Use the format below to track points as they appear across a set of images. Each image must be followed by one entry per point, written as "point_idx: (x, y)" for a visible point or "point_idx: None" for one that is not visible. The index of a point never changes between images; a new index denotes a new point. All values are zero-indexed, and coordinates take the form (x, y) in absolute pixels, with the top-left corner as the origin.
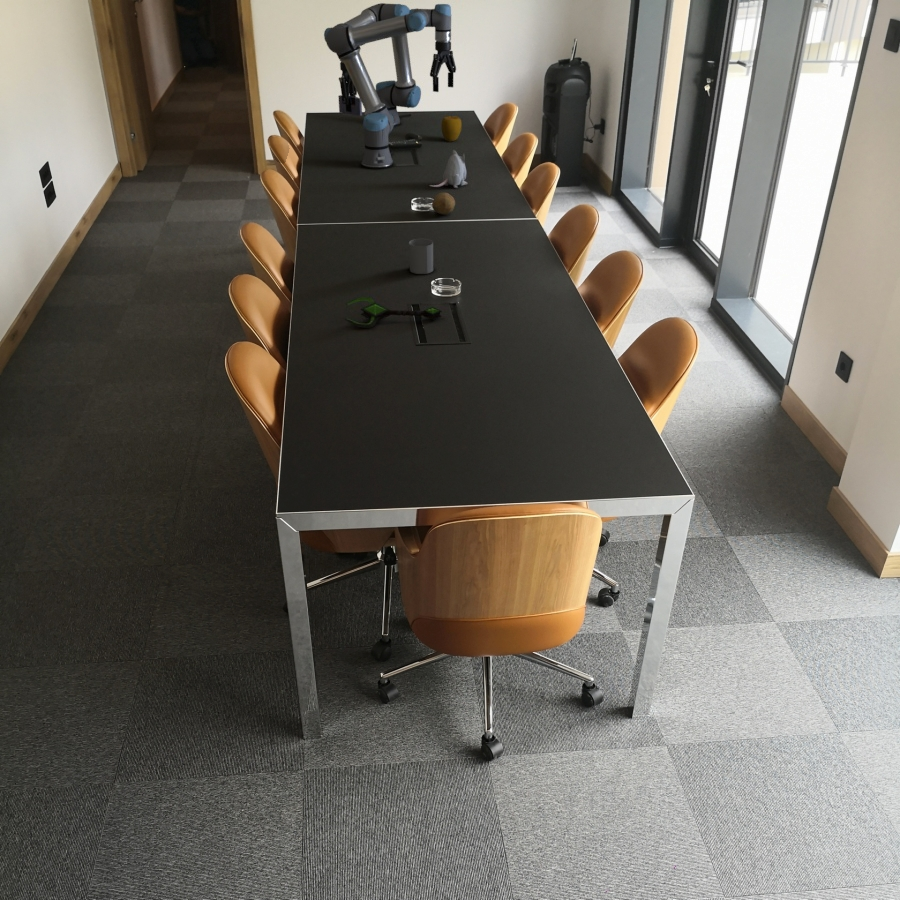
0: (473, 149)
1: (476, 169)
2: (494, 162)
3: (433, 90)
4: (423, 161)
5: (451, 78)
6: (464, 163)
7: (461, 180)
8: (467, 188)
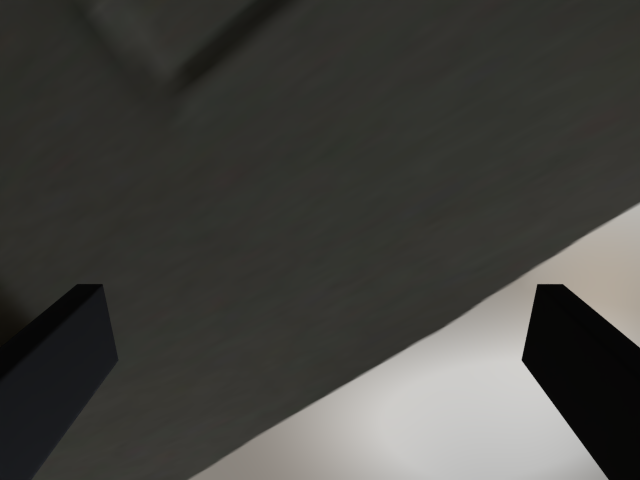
0: (568, 170)
1: (269, 335)
2: (396, 343)
3: (71, 300)
4: (247, 79)
5: (608, 451)
6: None
7: None
8: None
